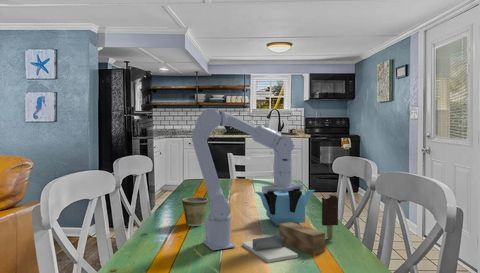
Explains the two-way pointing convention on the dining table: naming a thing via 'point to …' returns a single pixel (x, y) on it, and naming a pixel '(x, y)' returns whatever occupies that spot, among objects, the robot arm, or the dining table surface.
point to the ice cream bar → (330, 213)
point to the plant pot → (195, 210)
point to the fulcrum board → (272, 253)
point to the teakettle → (286, 208)
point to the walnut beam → (303, 237)
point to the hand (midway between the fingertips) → (282, 213)
